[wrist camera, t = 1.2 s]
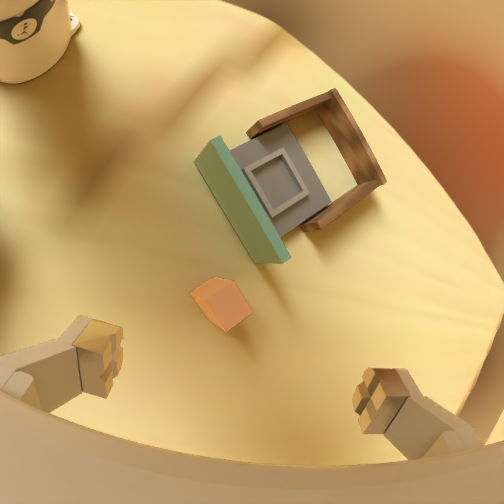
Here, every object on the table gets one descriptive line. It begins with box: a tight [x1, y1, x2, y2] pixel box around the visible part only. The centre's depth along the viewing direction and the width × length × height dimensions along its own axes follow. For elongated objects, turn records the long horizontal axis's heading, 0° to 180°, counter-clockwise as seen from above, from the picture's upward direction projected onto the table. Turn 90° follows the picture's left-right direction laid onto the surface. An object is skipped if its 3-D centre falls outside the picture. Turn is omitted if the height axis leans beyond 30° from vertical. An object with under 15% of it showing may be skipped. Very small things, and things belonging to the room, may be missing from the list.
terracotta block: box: [190, 277, 253, 332], centre depth 41 cm, size 4×4×9 cm
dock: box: [246, 88, 387, 232], centre depth 49 cm, size 18×16×6 cm
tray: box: [194, 124, 331, 264], centre depth 45 cm, size 17×16×9 cm
